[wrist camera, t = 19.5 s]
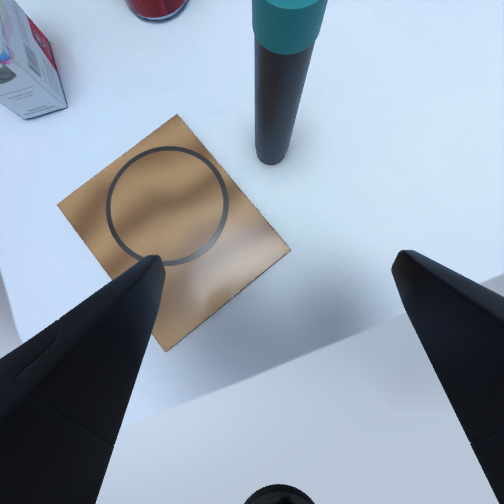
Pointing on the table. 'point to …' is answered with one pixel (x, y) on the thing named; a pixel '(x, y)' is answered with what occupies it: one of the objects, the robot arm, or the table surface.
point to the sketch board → (175, 226)
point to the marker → (281, 68)
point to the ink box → (26, 66)
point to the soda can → (155, 8)
